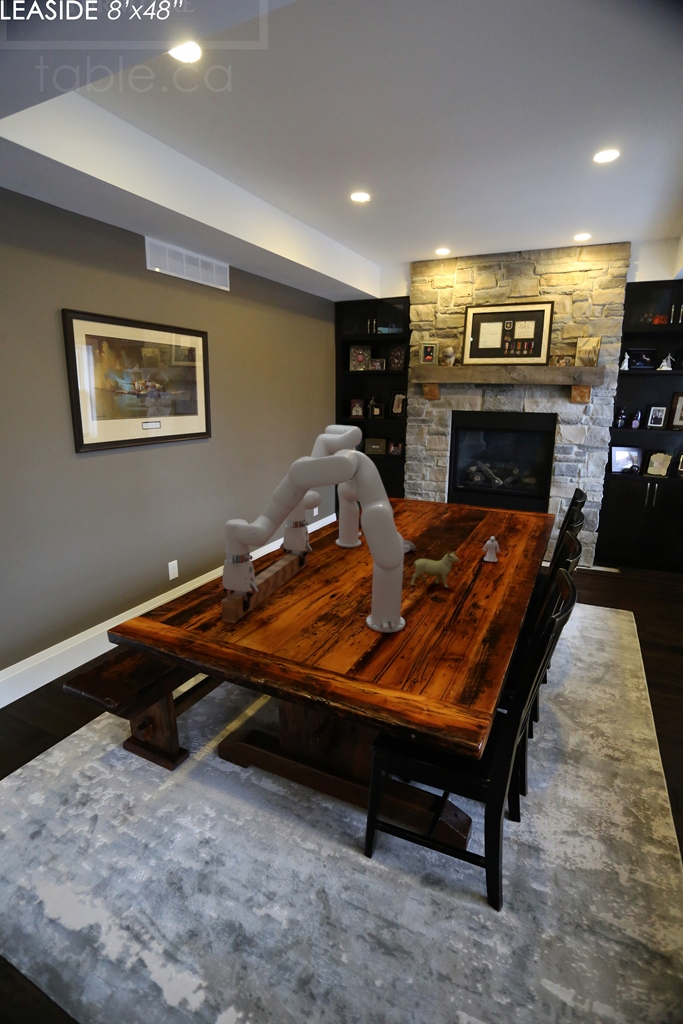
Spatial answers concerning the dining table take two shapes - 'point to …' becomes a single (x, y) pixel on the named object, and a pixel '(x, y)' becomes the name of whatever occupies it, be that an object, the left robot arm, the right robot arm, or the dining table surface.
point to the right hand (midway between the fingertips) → (239, 608)
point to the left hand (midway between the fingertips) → (296, 564)
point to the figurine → (491, 550)
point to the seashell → (408, 546)
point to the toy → (434, 568)
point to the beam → (263, 586)
